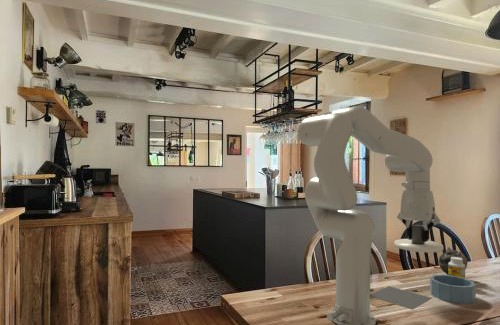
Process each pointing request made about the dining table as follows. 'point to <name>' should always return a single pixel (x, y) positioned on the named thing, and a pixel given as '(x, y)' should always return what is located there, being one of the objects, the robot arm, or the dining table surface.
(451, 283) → the bowl
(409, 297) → the mat
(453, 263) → the supplement bottle
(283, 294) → the dining table surface
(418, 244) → the lid
